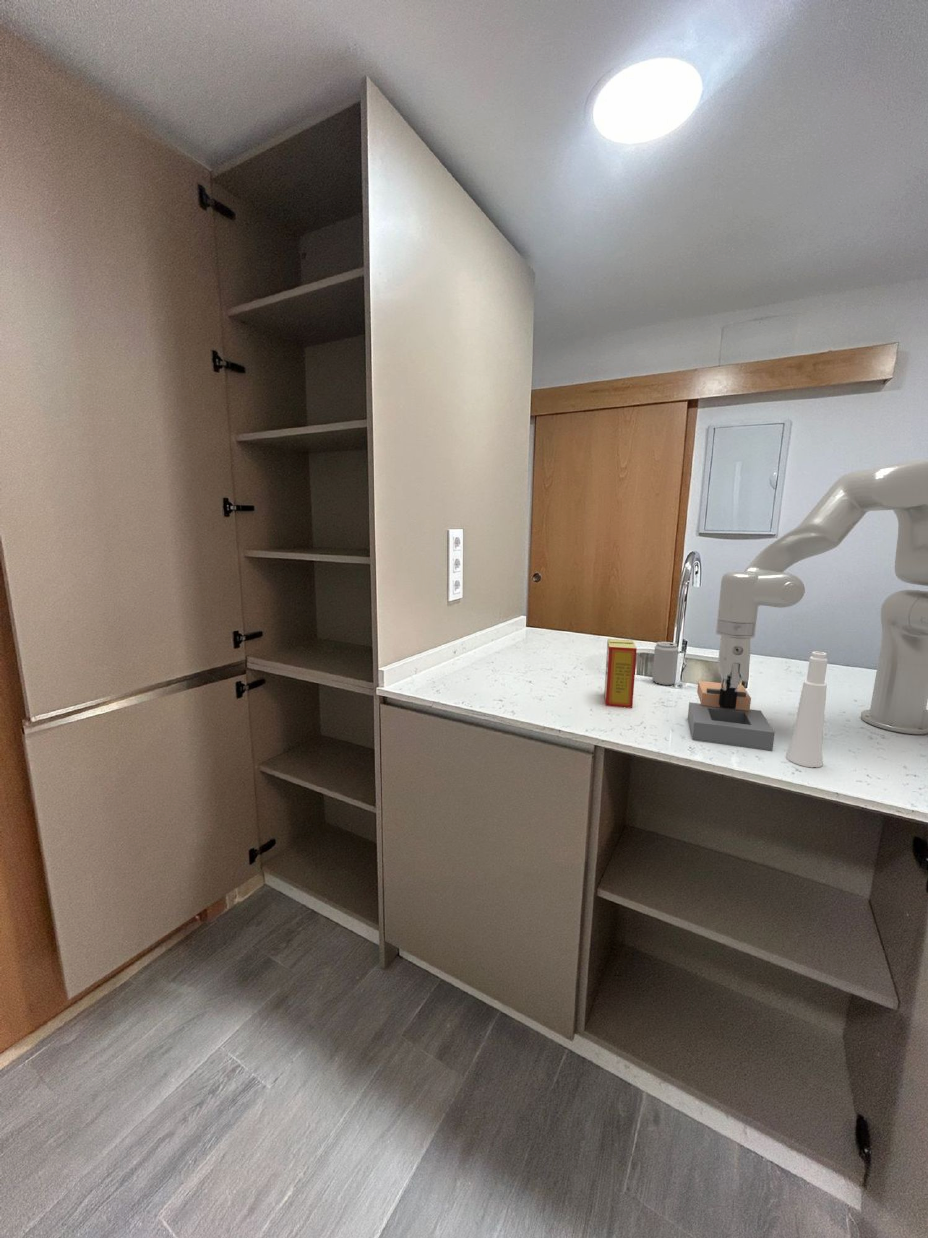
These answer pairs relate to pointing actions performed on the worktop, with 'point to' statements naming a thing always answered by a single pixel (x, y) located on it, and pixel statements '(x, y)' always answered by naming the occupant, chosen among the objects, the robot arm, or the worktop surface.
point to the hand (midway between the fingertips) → (726, 706)
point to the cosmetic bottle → (810, 716)
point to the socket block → (730, 726)
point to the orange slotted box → (711, 694)
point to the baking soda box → (620, 673)
